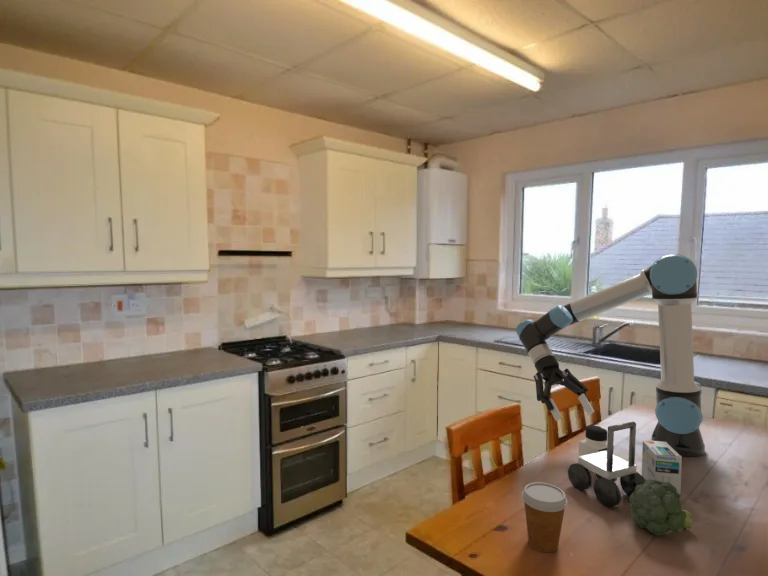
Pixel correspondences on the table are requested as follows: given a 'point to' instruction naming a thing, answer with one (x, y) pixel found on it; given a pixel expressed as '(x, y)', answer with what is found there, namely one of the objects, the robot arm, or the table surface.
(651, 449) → the light bulb box
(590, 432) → the medicine bottle
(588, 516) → the table surface
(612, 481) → the trolley
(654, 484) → the vegetable
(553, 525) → the disposable coffee cup
